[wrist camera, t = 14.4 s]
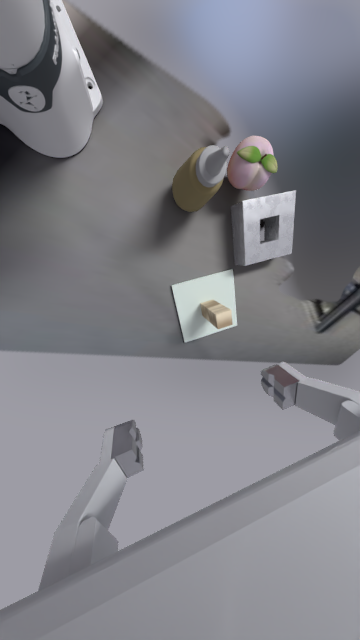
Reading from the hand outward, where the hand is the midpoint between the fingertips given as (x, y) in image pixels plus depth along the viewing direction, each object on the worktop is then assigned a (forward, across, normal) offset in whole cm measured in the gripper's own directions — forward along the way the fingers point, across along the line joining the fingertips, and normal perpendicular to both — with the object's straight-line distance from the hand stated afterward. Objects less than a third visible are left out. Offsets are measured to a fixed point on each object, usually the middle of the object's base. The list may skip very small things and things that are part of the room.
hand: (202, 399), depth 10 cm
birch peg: (+36, -15, +10) cm, 41 cm away
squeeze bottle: (+37, -14, -18) cm, 44 cm away
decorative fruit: (+37, -27, -20) cm, 50 cm away
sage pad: (+37, -15, +10) cm, 41 cm away
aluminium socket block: (+37, -32, -7) cm, 49 cm away
